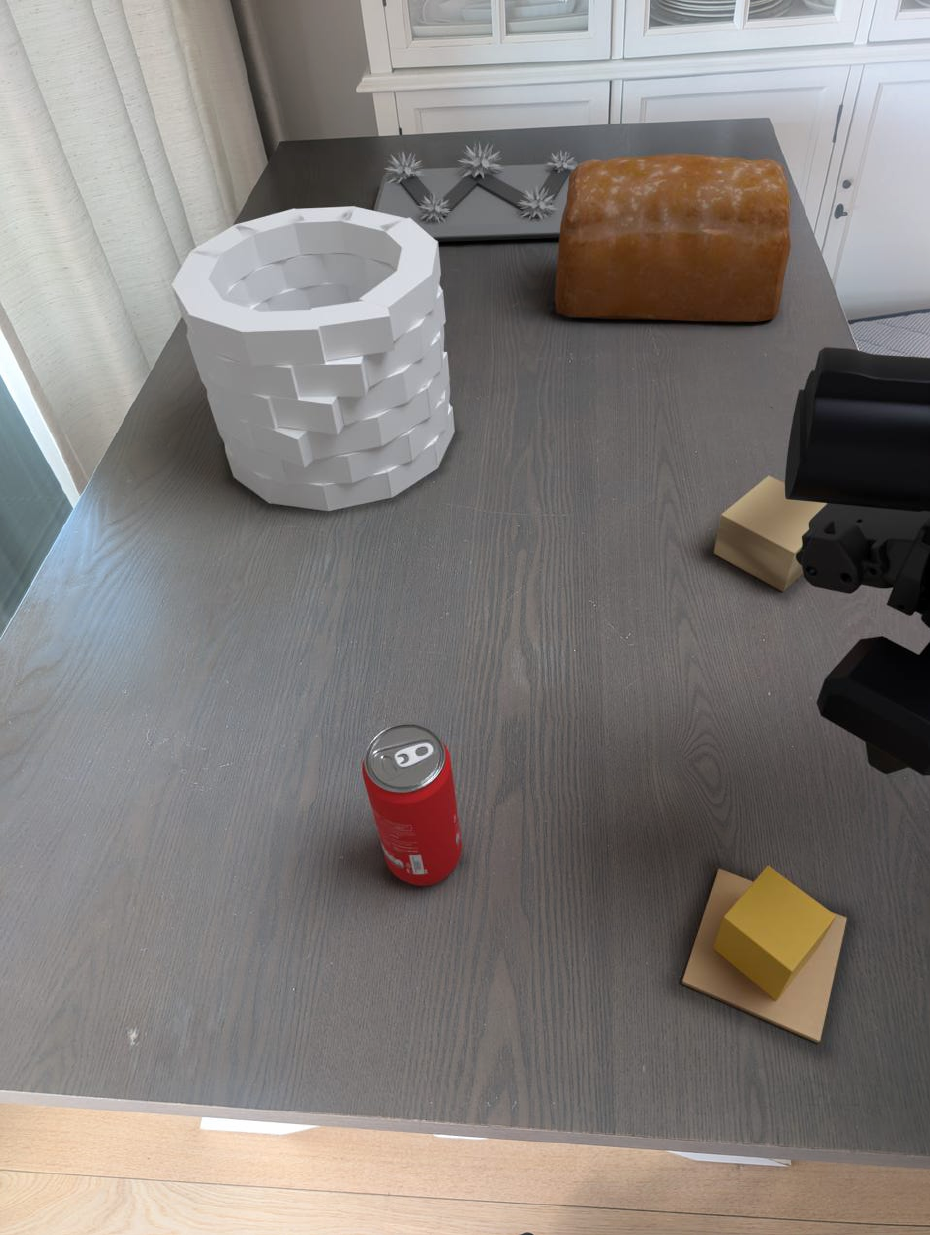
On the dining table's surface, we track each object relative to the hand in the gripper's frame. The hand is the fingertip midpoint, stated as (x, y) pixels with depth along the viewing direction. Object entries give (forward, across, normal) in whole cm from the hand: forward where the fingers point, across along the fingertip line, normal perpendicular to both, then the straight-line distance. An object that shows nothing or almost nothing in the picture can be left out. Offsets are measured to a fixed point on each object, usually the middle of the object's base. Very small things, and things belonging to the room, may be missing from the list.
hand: (918, 716), depth 51 cm
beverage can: (+12, +22, -20) cm, 32 cm away
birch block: (+12, -19, -19) cm, 29 cm away
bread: (+12, -49, -52) cm, 72 cm away
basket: (+11, -5, -60) cm, 62 cm away
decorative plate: (+11, -53, -87) cm, 102 cm away
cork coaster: (+12, +12, 0) cm, 17 cm away
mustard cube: (+11, +12, 0) cm, 17 cm away
